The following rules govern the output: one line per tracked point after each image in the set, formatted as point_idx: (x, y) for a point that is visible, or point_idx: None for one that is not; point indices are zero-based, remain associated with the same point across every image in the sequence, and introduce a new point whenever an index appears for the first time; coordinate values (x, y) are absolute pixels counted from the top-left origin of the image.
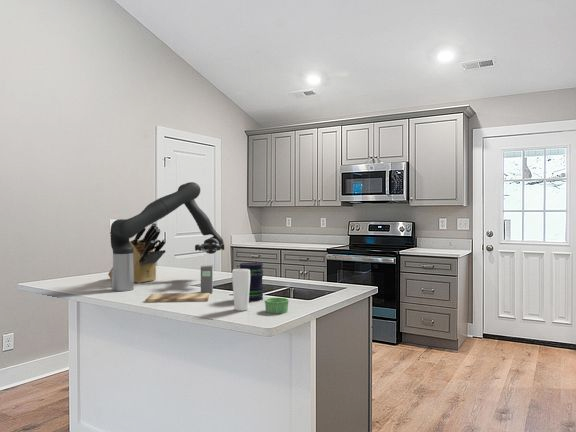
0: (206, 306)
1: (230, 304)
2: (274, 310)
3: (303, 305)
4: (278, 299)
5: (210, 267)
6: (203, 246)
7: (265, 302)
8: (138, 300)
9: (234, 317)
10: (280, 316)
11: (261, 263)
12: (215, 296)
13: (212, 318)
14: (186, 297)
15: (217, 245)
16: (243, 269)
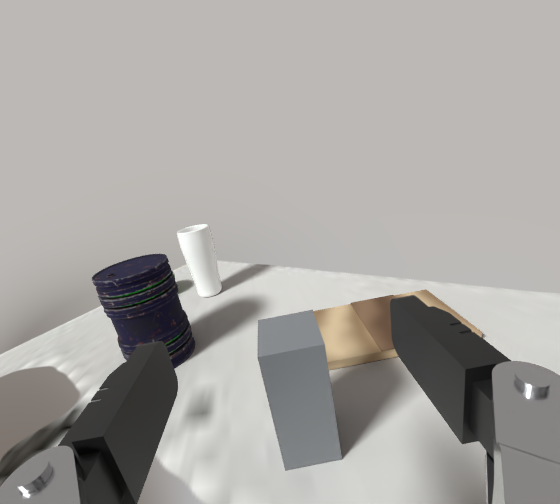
0: (271, 296)
1: (224, 312)
2: None
3: (90, 326)
4: None
5: (265, 321)
6: (495, 493)
7: (174, 276)
8: (468, 305)
9: (227, 270)
10: None
11: (93, 278)
12: None
13: (255, 264)
14: (332, 316)
15: (80, 491)
16: (185, 233)
